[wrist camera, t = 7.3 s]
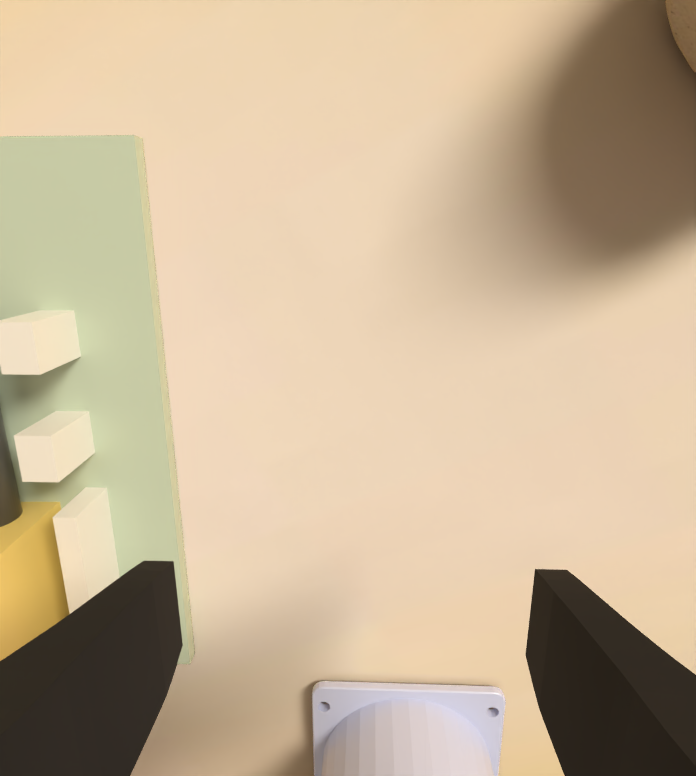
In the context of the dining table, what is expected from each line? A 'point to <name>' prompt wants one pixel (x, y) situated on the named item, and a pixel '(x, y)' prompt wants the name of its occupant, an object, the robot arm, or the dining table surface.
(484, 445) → the dining table surface
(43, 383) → the board
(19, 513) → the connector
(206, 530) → the dining table surface
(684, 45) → the ceramic mug
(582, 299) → the dining table surface
